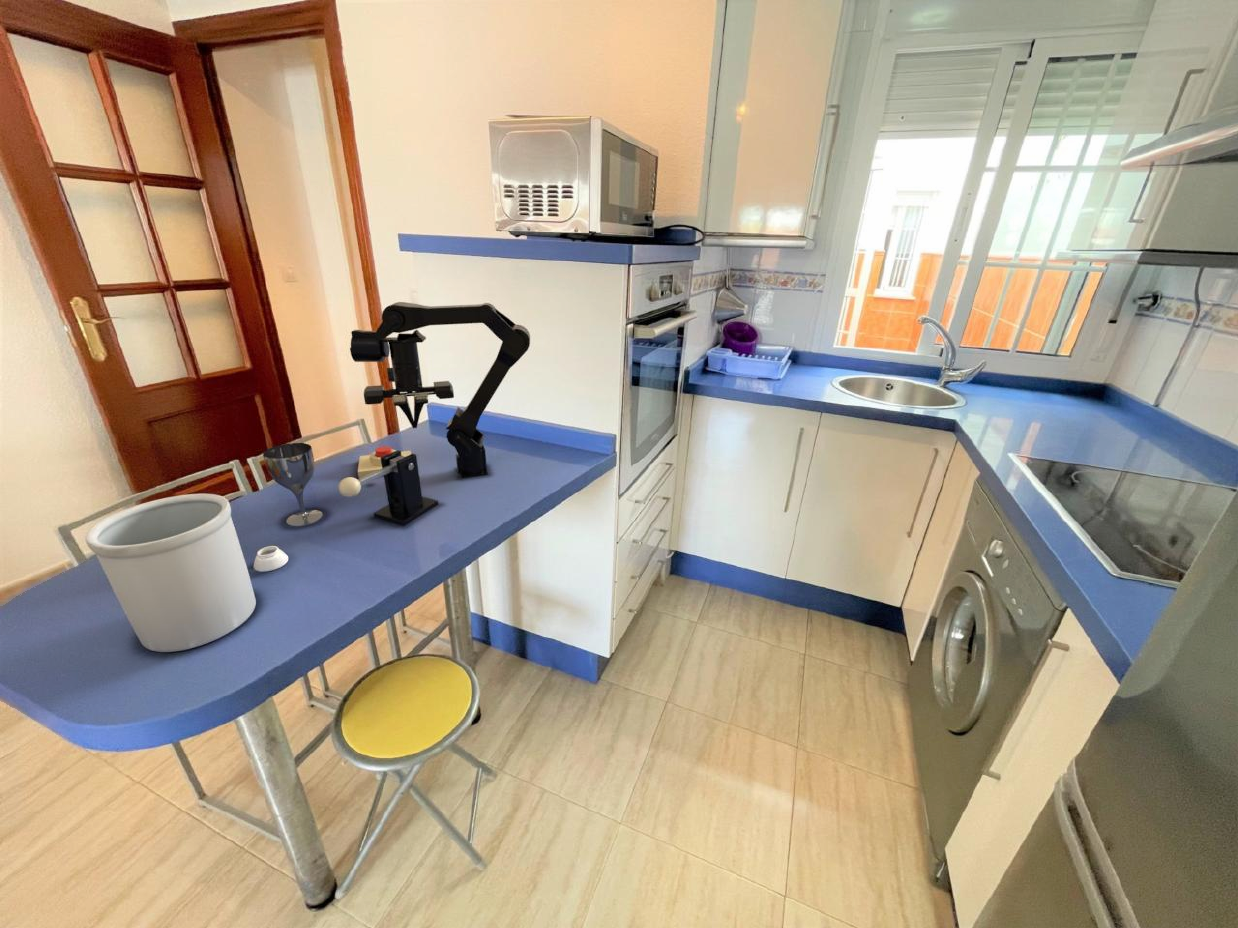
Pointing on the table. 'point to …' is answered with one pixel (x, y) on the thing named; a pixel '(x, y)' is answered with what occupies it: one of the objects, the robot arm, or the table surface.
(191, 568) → the utensil holder
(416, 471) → the bracket
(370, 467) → the button box
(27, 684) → the table surface
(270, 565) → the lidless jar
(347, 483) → the lever
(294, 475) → the wine glass
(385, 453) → the button
